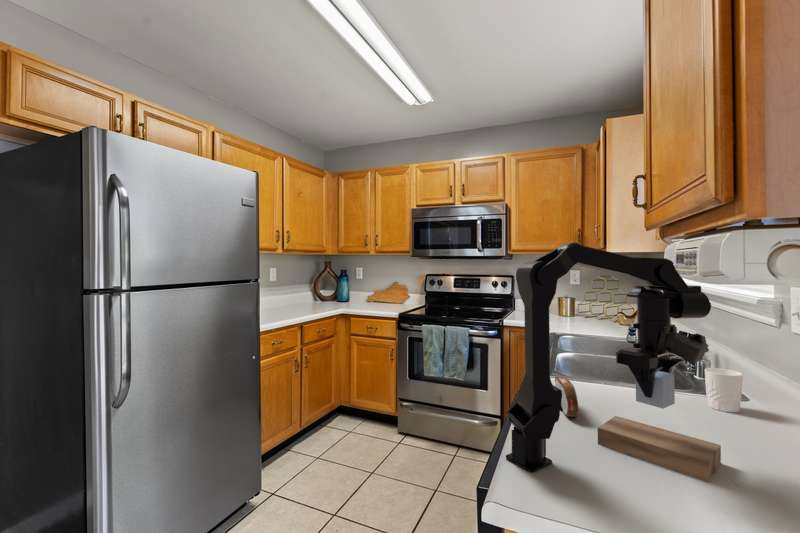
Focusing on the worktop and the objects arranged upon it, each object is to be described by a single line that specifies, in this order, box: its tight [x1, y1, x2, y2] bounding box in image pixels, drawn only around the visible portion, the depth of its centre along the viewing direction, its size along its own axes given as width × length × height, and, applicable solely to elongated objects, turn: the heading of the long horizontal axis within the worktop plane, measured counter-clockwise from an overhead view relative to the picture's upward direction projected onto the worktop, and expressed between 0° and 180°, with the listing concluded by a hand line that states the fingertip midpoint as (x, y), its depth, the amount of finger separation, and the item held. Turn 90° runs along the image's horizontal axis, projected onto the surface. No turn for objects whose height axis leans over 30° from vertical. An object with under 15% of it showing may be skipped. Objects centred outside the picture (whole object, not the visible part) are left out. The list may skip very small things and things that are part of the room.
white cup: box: [704, 367, 744, 414], centre depth 102 cm, size 8×8×10 cm
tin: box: [554, 375, 579, 418], centre depth 100 cm, size 15×3×8 cm, turn 168°
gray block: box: [635, 371, 676, 409], centre depth 77 cm, size 5×5×6 cm
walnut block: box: [597, 415, 722, 483], centre depth 77 cm, size 10×19×4 cm, turn 40°
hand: (654, 394), depth 77 cm, fingers closed on gray block, 5 cm apart
